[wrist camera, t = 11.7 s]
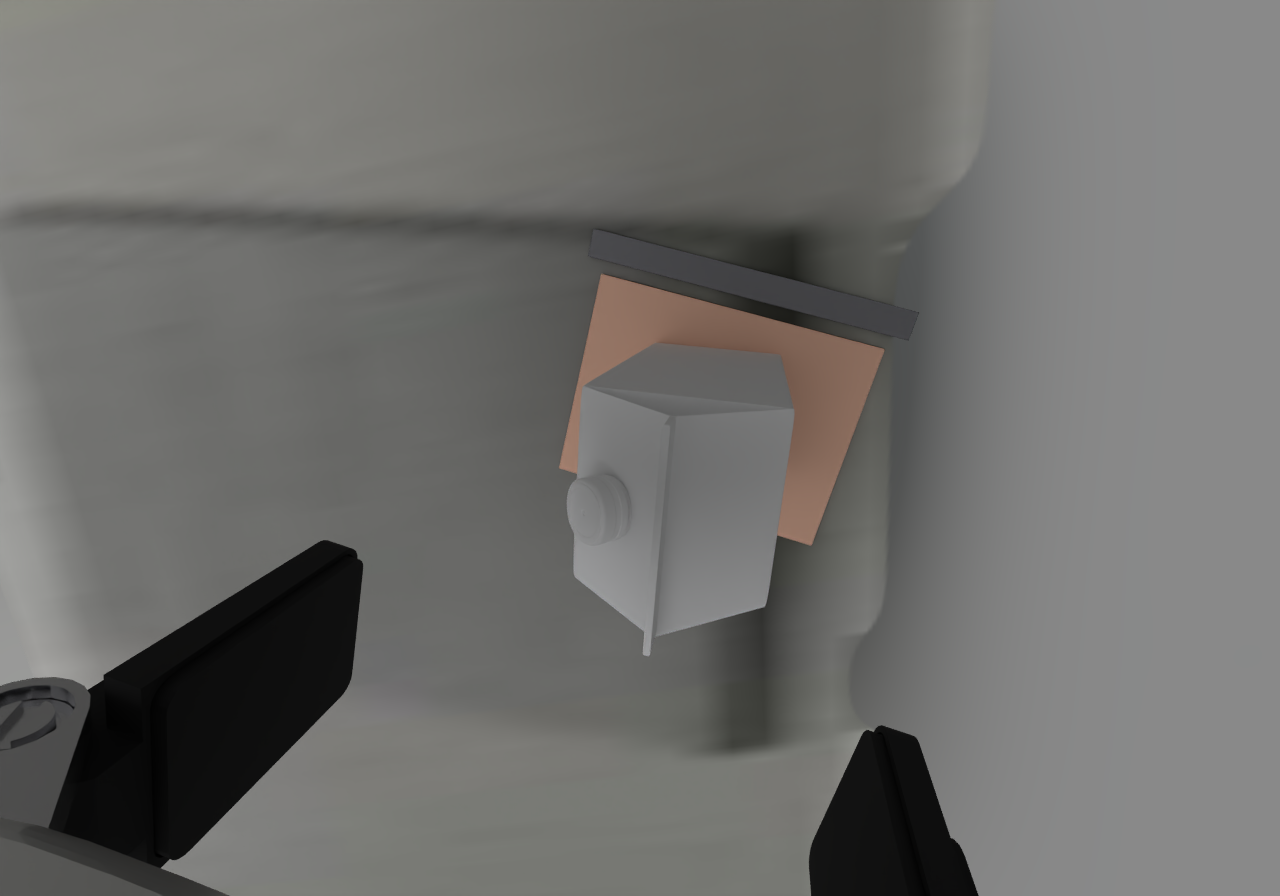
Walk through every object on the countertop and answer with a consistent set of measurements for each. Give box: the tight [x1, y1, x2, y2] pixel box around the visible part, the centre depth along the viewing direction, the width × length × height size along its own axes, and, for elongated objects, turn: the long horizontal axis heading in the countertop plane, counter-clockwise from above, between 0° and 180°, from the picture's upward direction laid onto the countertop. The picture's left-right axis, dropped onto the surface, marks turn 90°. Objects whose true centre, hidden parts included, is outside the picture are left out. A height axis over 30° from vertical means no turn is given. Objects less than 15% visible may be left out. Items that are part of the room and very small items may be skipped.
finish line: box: [588, 229, 919, 340], centre depth 33 cm, size 2×18×1 cm, turn 76°
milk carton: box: [567, 343, 795, 656], centre depth 26 cm, size 7×7×19 cm
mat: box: [559, 274, 885, 546], centre depth 35 cm, size 12×16×1 cm
